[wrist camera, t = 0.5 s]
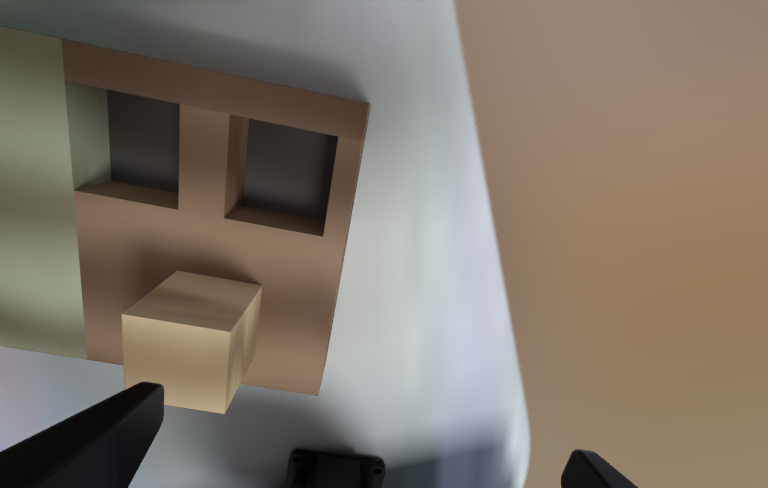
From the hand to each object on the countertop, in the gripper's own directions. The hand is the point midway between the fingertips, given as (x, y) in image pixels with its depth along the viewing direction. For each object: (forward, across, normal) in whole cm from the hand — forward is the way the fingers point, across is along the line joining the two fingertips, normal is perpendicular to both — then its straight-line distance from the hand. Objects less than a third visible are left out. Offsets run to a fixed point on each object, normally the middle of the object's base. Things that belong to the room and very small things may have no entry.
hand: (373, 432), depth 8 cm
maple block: (+10, +7, +4) cm, 13 cm away
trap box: (+13, +11, 0) cm, 17 cm away
